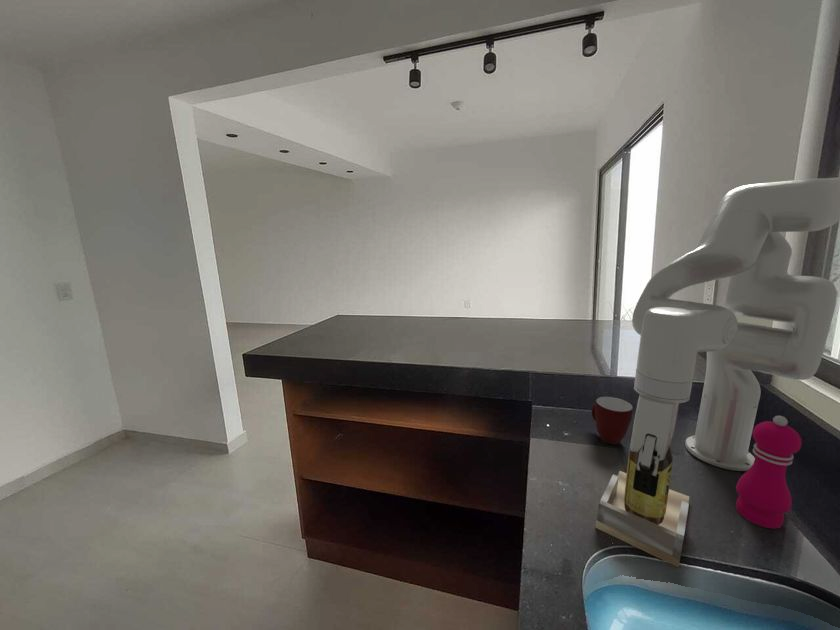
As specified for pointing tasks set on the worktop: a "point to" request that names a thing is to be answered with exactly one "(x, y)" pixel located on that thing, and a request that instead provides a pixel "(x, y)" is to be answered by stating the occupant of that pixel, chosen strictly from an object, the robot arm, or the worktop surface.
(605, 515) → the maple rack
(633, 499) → the sauce bottle
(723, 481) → the worktop surface
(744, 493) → the pepper mill
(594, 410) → the mug
